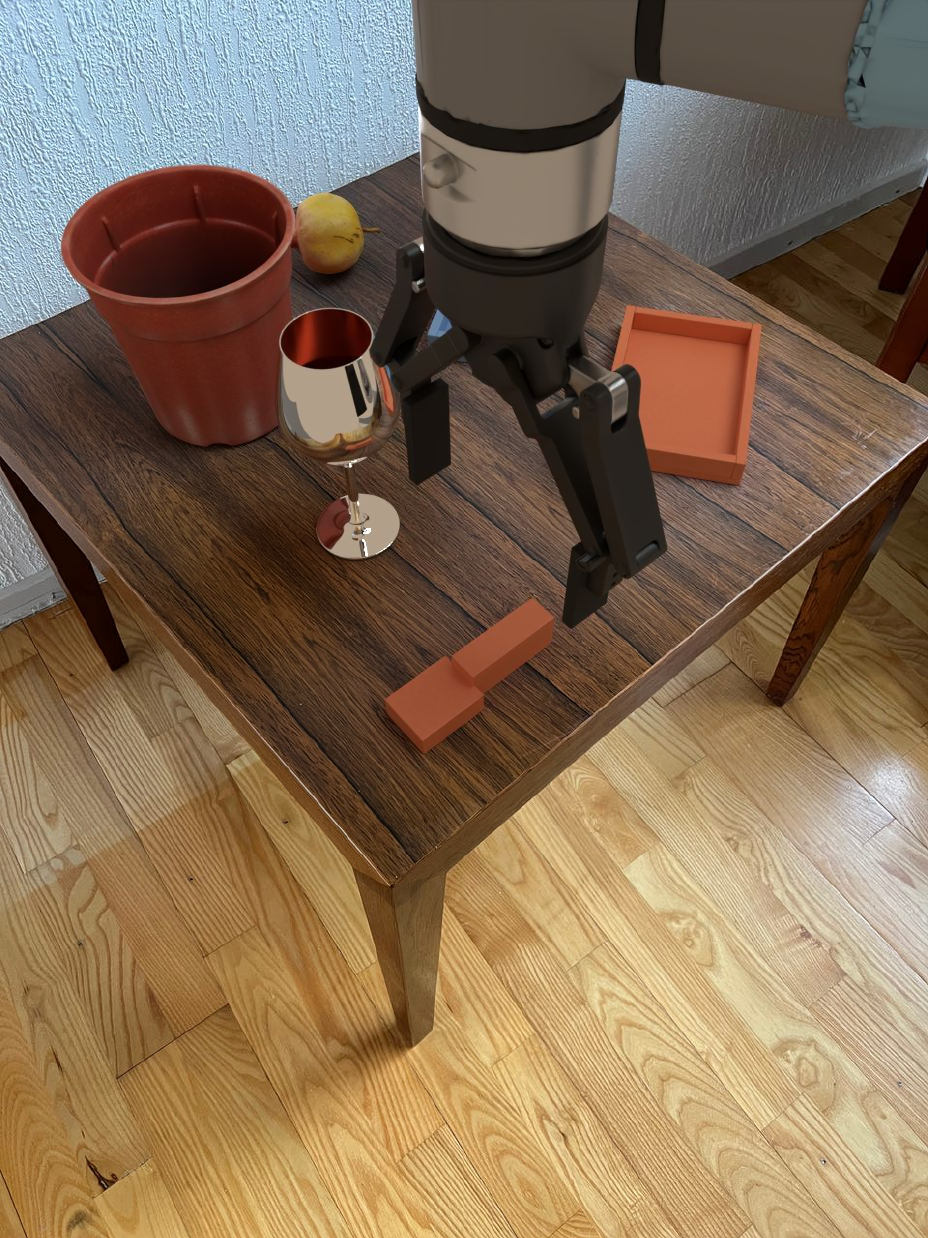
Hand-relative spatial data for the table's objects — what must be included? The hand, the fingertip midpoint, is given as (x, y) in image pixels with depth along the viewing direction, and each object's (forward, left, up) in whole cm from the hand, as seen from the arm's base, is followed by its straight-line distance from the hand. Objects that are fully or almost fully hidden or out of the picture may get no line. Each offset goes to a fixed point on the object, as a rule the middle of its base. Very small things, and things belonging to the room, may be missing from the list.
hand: (503, 538), depth 56 cm
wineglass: (+13, -9, -13) cm, 20 cm away
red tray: (-9, -28, -13) cm, 32 cm away
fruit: (+25, -39, -13) cm, 48 cm away
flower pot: (+28, -20, -13) cm, 37 cm away
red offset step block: (+1, +3, -13) cm, 13 cm away
